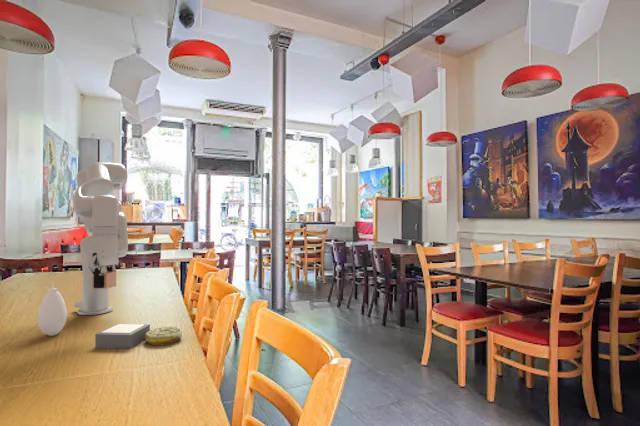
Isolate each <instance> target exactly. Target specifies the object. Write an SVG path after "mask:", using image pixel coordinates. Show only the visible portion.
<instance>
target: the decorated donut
mask: <svg viewBox="0 0 640 426" xmlns="http://www.w3.org/2000/svg"><path fill="white" fill-rule="evenodd" d="M182 337H183V331H182V329H181V328H179V327H177V326H161V327H157V328H153V329H150V331H148V332H147V333H146V335H145V341H146V342H147V344H148V345H151V346H162V345H163V346H165V345H171V344H173V343H176V342H177V341H179V340H180V339H181V338H182Z"/></svg>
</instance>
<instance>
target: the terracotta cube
mask: <svg viewBox="0 0 640 426" xmlns="http://www.w3.org/2000/svg"><path fill="white" fill-rule="evenodd" d="M92 274H93V273H92ZM102 276H104V288H94V276H93V275H92V289H107V288H109V289H111V288H115V287H117V271H116V272H103V275H102Z"/></svg>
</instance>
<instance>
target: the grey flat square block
mask: <svg viewBox="0 0 640 426" xmlns="http://www.w3.org/2000/svg"><path fill="white" fill-rule="evenodd" d="M150 330H151V324H145V323H144V324H142V323H139V324H138V323H136V324H135V323H131V324H129V323H122V324H121V323H117V324H114V325H112V326H110V327H108V328H106V329H103V330H101V331H99V332H97V333H95V337H94V338H95V339H94V341H95V344H94V346H95V349H97V348H98V349H132V348H133V347H136V346H137V345H138V344H141V343H142V342H144V341H146V339H145V335H146V333H147V332H148V331H150Z"/></svg>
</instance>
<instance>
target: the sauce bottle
mask: <svg viewBox="0 0 640 426" xmlns="http://www.w3.org/2000/svg"><path fill="white" fill-rule="evenodd" d="M37 311H38V312H37V323H38V326H39V328H40V330H41V332H42V333H44V334H45V335H46V336H50V337H52V336H56V335H57V334H58V333H60V331H62V330H63V329H64V327H65V324H66V322H67V317H68V314H67V313H68V311H67V306H66V303H65V300H64V297H63V296H62V293H60V291H59V290H58V288H56V287H55V284H54V281H52V283H51V288H48V289H47V292H46V293H45V295H44V296H43V298H42V300H41V302H40V304H39V308H38V310H37Z"/></svg>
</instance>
